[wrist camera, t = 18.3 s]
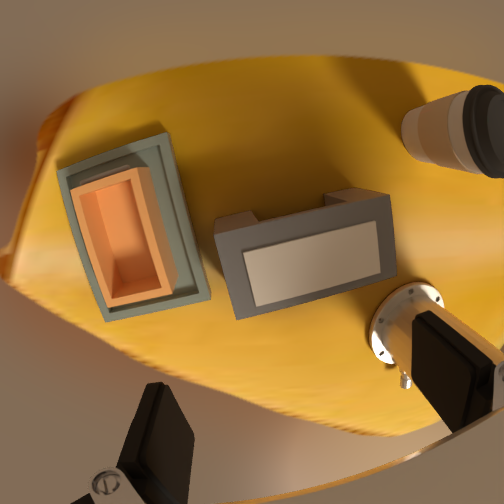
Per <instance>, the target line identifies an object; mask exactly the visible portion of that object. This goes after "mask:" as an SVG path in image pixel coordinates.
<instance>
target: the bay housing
mask: <svg viewBox="0 0 504 504" xmlns="http://www.w3.org/2000/svg"><path fill="white" fill-rule="evenodd" d="M323 195H324V200H325V206H324V207H320V208H315V209H311V210H307V211H302V212H298V213H293V214H289V215H285V216H280V217H276V218H272V219H268V220H263V221H258V220H257V218H256V217H255V216H254V214H253V213H252V211H251V210H250V211H246V212H241V213H237V214H233V215H229V216H225V217H221V218H217V219H215V224H214V239H215V243H216V247H217V250H218V254H219V258H220V262H221V266H222V269H223V273H224V277H225V280H226V284H227V288H228V291H229V295H230V299H231V302H232V306H233V309H234V313H235V317H236V320H240V319H244V318H248V317H252V316H256V315H260V314H264V313H268V312H272V311H276V310H280V309H284V308H288V307H292V306H295V305H299V304H303V303H307V302H310V301H314V300H317V299H321V298H325V297H328V296H332V295H335V294H339V293H342V292H346V291H349V290H352V289H356V288H359V287H362V286H366V285H369V284H372V283H375V282H379V281H382V280H385V279H388V278H391V277H394V276H397V266H396V251H395V238H394V227H393V218H392V209H391V201H390V195H389V194H384V193H379V192H375V191H370V190H365V189H360V188H350V189H345V190H340V191H335V192H330V193H326V194H323Z"/></svg>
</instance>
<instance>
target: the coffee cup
mask: <svg viewBox="0 0 504 504" xmlns="http://www.w3.org/2000/svg"><path fill="white" fill-rule="evenodd" d="M401 135H402V140H403V143H404V145H405V148H406V149H407V151H408V152H409V154H410V155H411V156H412V157H414V158H415V159H417V160H419V161H422V162H428V163H433V164H437V165H439V166H442V167H447V168H452V169H457V170H461V171H466V172H470V173H475V174H485V175H486V176H488V177H491V178H504V93H503V92H502V91H501V90H500V89H498V88H497V87H495V86H492V85H478V86H475V87H473V88H472V89H471V90H469V91H461V92H458V93H455V94H452V95H449V96H446V97H443V98H440V99H437V100H434V101H432V102H429V103H427V104H426V105H424V106H421V107H418V108H415V109H412V110H410V111H409V112H408V113H407V114H406V115H405V117H404V118H403V121H402V125H401Z"/></svg>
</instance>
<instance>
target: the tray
mask: <svg viewBox="0 0 504 504" xmlns="http://www.w3.org/2000/svg"><path fill="white" fill-rule="evenodd" d="M125 165H129V166H130V169H133V168H136V167H149V168H150V173H151V177H152V181H153V185H154V189H155V193H156V197H157V201H158V205H159V209H160V212H161V216H162V220H163V224H164V227H165V231H166V234H167V238H168V242H169V245H170V249H171V252H172V255H173V259H174V262H175V266H176V269H177V272H178V275H179V276H178V279H177V282H176V285H175V287H174V290H173V293H172V294H169V295H165V296H160V297H156V298H151V299H147V300H142V301H137V302H133V303H128V304H124V305H119V306H114V307H110V308H108V307H107V305H106V302H105V300H104V297H103V294H102V292H101V289H100V286H99V284H98V281H97V278H96V275H95V272H94V270H93V267H92V264H91V261H90V258H89V255H88V252H87V249H86V245H85V242H84V239H83V236H82V232H81V229H80V226H79V222H78V218H77V215H76V211H75V207H74V204H73V200H72V196H71V192H70V190H72V189H74V188H77V187H80V186H82V185H80V181H81V180H84V179H87V178H90V177H92V176H95V175H98V174H101V173H104V172H107V171H110V170H112V169H115V168H119V167H122V166H125ZM130 169H129V170H130ZM57 176H58V180H59V184H60V189H61V193H62V197H63V201H64V204H65V208H66V212H67V215H68V219H69V222H70V226H71V229H72V233H73V236H74V239H75V242H76V245H77V248H78V252H79V255H80V258H81V260H82V263H83V266H84V269H85V272H86V275H87V277H88V280H89V283H90V286H91V288H92V291H93V293H94V296H95V298H96V301H97V303H98V306H99V308H100V311H101V313H102V316H103V318H104V320H105V322H110V321H115V320H120V319H125V318H129V317H134V316H139V315H144V314H148V313H153V312H158V311H162V310H167V309H171V308H176V307H180V306H185V305H189V304H194V303H198V302H202V301H207V300H211V290H210V286H209V283H208V279H207V276H206V272H205V269H204V265H203V262H202V258H201V255H200V251H199V247H198V244H197V240H196V236H195V233H194V229H193V225H192V221H191V218H190V214H189V210H188V206H187V202H186V198H185V194H184V191H183V187H182V183H181V178H180V174H179V170H178V166H177V162H176V158H175V154H174V149H173V145H172V141H171V136H170V134H169V133H167V132H166V133H162V134H159V135H155V136H152V137H149V138H146V139H142V140H139V141H136V142H133V143H130V144H127V145H124V146H121V147H118V148H115V149H112V150H110V151H107V152H104V153H101V154H99V155H96V156H93V157H91V158H88V159H85V160H83V161H80V162H78V163H75V164H73V165H70V166H68V167H66V168H63V169H61V170H58V171H57Z"/></svg>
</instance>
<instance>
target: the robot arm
mask: <svg viewBox="0 0 504 504" xmlns="http://www.w3.org/2000/svg"><path fill="white" fill-rule="evenodd" d="M369 342H370V346H371V349H372V351H373V352H374V354H375V355H376V356H377V357H378V358H379V359H380V360H382V361H383V362H386V363H390V364H397V365H398V366H399V371H400V372H401V379H400V386H401V388H404V389H407V388H410V387H411V386H412V382H413V383H414V384H415V385H416V387H417V388H418V389H419V390H420V392H421V393H422V394H423V395H424V397H425V398H426V399H427V400H428V401H429V403H430V404H431V405H432V406H433V408H434V409H435V410H436V412H437V413H438V414H439V416H440V417H441V418H442V420H443V421H444V422H445V424H446V425H447V426H448V428H449V429H450V430H451V432H452V434H451V435H449V436H447V437H445V438H443V439H441V440H439V441H437V442H435V443H433V444H431V445H429V446H427V447H424V448H422V449H420V450H418V451H416V452H413V453H411V454H409V455H406V456H404V457H402V458H399V459H397V460H394V461H392V462H389V463H387V464H384V465H382V466H379V467H377V468H374V469H371V470H368V471H365V472H362V473H360V474H356V475H353V476H350V477H347V478H344V479H340V480H337V481H334V482H330V483H327V484H323V485H319V486H315V487H311V488H307V489H303V490H299V491H294V492H289V493H285V494H280V495H274V496H269V497H264V498H257V499H250V500H243V501H235V502H226V503H215V504H504V353H503V352H501V351H500V350H499V349H497V348H496V347H495V346H494V345H492V344H491V343H490V342H488V341H487V340H486V339H485V338H483V337H482V336H481V335H479V334H478V333H477V332H475V331H474V330H473V329H471V328H470V327H469V326H467V325H466V324H465V323H463V322H462V321H461V320H459V319H458V318H457V317H455V316H454V315H452V314H451V313H450V312H448V311H447V310H446V309H444V303H443V299H442V296H441V294H440V293H439V292H438V290H437V289H435V288H434V287H433V286H431V285H429V284H427V283H423V282H412V283H409V284H406V285H404V286H402V287H400V288H398V289H396V290H395V291H394V292H392V293H391V294H390V295H389V296H388V297H387V298H386V299H385V300H384V301H383V302H382V304H381V305H380V306H379V308H378V309H377V311H376V313H375V315H374V317H373V319H372V322H371V325H370V330H369ZM194 441H195V439H194V433H193V431H192V429H191V427H190V425H189V424H188V422H187V420H186V418H185V416H184V414H183V413H182V411H181V409H180V407H179V405H178V403H177V401H176V399H175V397H174V395H173V393H172V391H171V389H170V387H169V386H168V385H164V383H163V382H156V383H149V384H147V385H146V388H145V390H144V393H143V395H142V398H141V401H140V403H139V406H138V409H137V411H136V414H135V417H134V419H133V421H132V423H131V426H130V429H129V431H128V434H127V437H126V439H125V442H124V445H123V448H122V451H121V454H120V457H119V460H118V463H117V466H116V468H113V467H107V468H103V469H101V470H98V471H97V472H96V473H94V474H93V476H91V478H90V480H89V482H88V490H89V493H88V494H87V495H85V496H83V497H81V498H80V499H78V500H76V501H75V502H73V503H71V504H187V502H188V492H189V484H190V475H191V466H192V457H193V449H194Z"/></svg>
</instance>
